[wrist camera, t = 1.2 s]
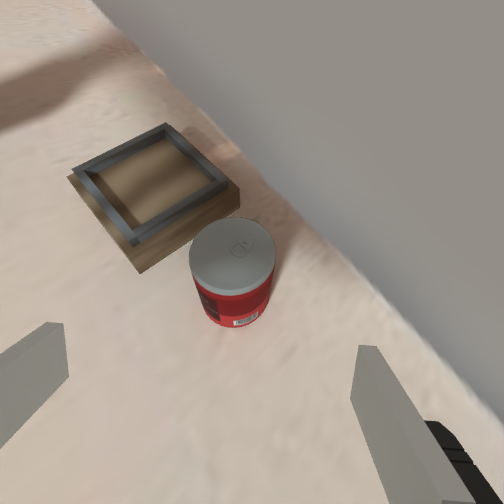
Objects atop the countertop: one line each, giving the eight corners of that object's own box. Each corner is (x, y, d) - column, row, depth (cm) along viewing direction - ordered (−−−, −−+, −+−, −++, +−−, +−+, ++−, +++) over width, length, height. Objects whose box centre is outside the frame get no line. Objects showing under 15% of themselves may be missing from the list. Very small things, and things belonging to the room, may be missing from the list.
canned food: (278, 284, 38) (290, 235, 29) (248, 342, 35) (250, 309, 25) (224, 258, 40) (218, 204, 30) (190, 311, 36) (170, 269, 27)
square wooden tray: (80, 196, 44) (60, 168, 39) (175, 146, 50) (167, 115, 45) (140, 274, 38) (125, 252, 34) (239, 207, 44) (239, 180, 39)
